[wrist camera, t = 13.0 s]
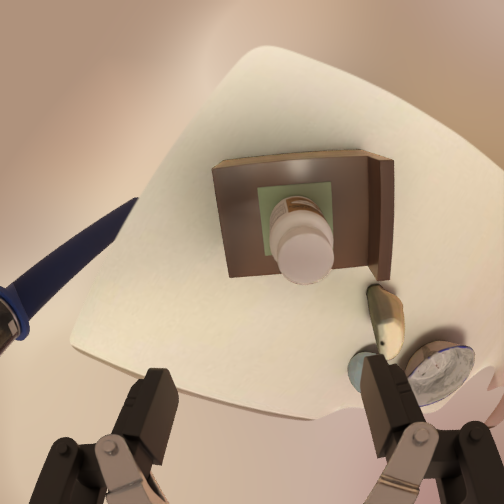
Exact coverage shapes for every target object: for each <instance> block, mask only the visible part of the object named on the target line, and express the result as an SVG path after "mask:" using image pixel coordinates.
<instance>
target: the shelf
mask: <svg viewBox="0 0 504 504" xmlns="http://www.w3.org/2000/svg"><path fill="white" fill-rule="evenodd" d="M212 175H213V181H214V188H215V194H216V200H217V207H218V213H219V219H220V225H221V231H222V238H223V244H224V249H225V255H226V261H227V267H228V273H229V278H234V277H247V276H259V275H272V274H282V273H281V272H280V269H279V267H278V263H277V262H276V260H275V259H274V257H273V255H272V253H271V249H270V242H269V237H270V233H269V232H270V216H271V213H272V211H273V209H274V207H275V206H276V205H277V204H278V203H279V202H280V201H281V200H283V199H285V198H287V197H291V196H302V197H306V198H308V199H310V200H312V201H313V202H314V203H315V204H316V205H317V206H318V207H319V209H320V210H321V212H322V214H323V216H324V217H325V219H326V221H327V222H328V225H329V226H330V228H331V231H332V234H333V248H332V250H333V254H334V262H333V266H332V268H331V269H339V268H349V267H359V266H368V267H369V268H370V270H371V272H372V273H373V275H374V277H375V278H376V280H377V281H384V280H390V271H391V259H392V245H393V227H394V160H392V159H389V158H386V157H383V156H380V155H377V154H374V153H370V152H367V151H364V150H360V149H356V150H331V151H314V152H300V153H287V154H276V155H266V156H256V157H247V158H239V159H231V160H223V161H222V162H221V163H219V164H218V165H217V166H215V167H214V168H212Z"/></svg>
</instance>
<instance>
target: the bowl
mask: <svg viewBox="0 0 504 504" xmlns="http://www.w3.org/2000/svg"><path fill="white" fill-rule="evenodd" d="M474 361H475V353H474V351H473V349H472V348H471V347H468V346H463V345H459V344H455V343H451V342H447V341H442V340H440V341H433V342H431V343H428V344H426V345H424V346H423V347H421V348H420V349H419V350H418V351H416V352H415V354H414V355H413V356H412V357H411V359H410V360H409V362H408V365H407V368H406V371H405V374H406V376H407V379H408V381H409V383H410V385H411V388H412V391H413V392H414V395H415V397H416V399H417V402H418V404H419V407H422V406H426V405H430V404H433V403H435V402H437V401H440V400H442V399H444V398H446V397H447V396H449V395H450V394H451V393H453V392H454V391H456V390H457V389H458V388H459V387H460V386H461V385H462V384H463V383H464V381H465V380H466V379H467V377H468V376H469V374H470V372H471V370H472V368H473V365H474Z"/></svg>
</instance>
